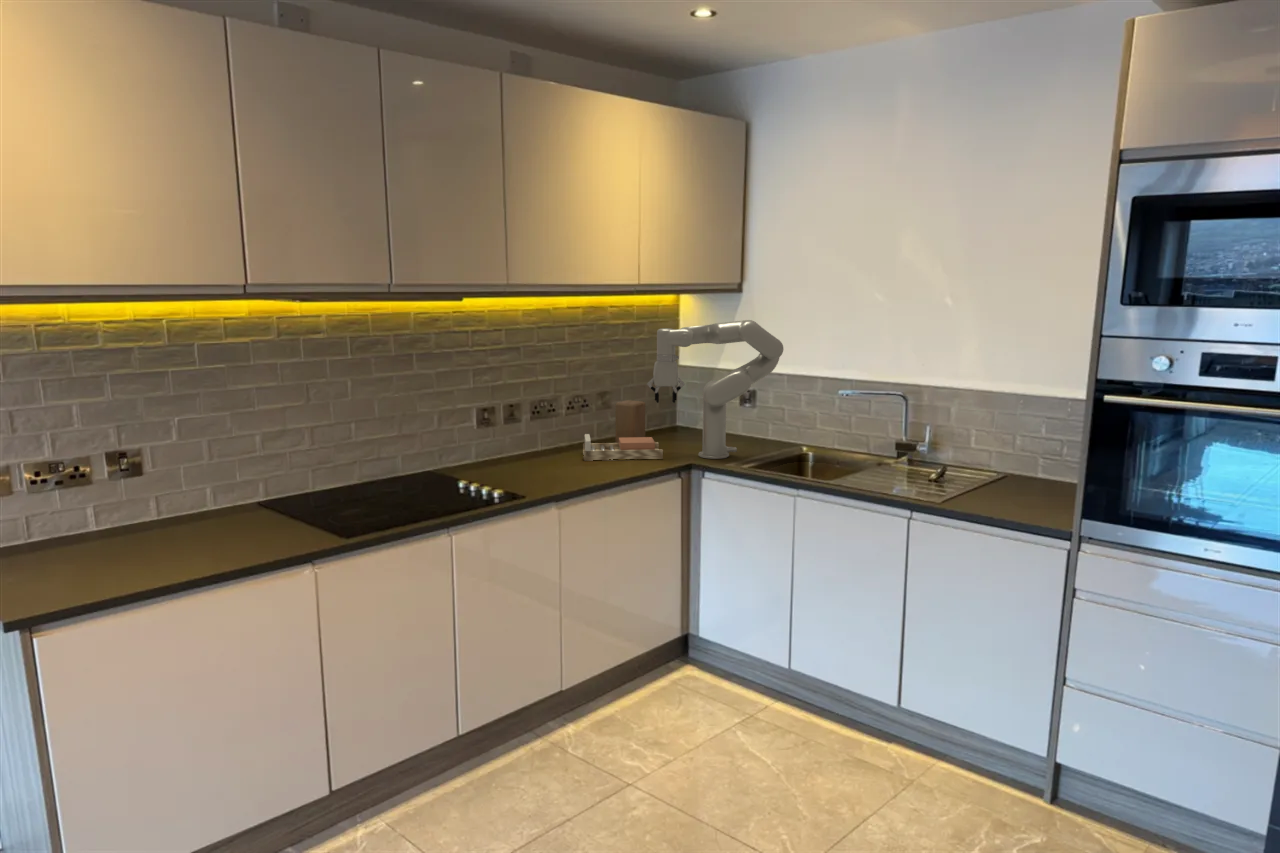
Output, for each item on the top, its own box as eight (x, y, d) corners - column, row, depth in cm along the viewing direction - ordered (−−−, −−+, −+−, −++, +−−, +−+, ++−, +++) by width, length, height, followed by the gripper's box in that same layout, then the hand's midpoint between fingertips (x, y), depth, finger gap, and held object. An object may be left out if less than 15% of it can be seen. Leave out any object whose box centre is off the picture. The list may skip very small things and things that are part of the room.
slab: (651, 444, 349) (651, 437, 348) (654, 449, 337) (654, 442, 336) (618, 444, 347) (618, 437, 347) (620, 450, 336) (620, 443, 335)
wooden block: (646, 446, 363) (646, 401, 359) (633, 450, 354) (634, 404, 351) (627, 443, 368) (627, 399, 365) (614, 447, 360) (614, 402, 356)
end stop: (589, 449, 349) (589, 434, 347) (590, 457, 333) (590, 441, 332) (584, 449, 348) (584, 434, 347) (585, 457, 333) (585, 441, 332)
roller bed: (658, 451, 351) (658, 442, 351) (662, 459, 336) (662, 449, 335) (583, 452, 349) (583, 443, 348) (584, 460, 333) (584, 451, 332)
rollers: (651, 448, 350) (651, 444, 349) (655, 455, 336) (655, 450, 336) (590, 449, 347) (590, 445, 347) (591, 456, 334) (591, 451, 334)
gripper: (685, 357, 341) (685, 400, 344) (644, 358, 340) (643, 401, 343) (688, 359, 334) (687, 403, 337) (645, 359, 332) (645, 403, 336)
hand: (665, 401), depth 340 cm, fingers open, 6 cm apart
